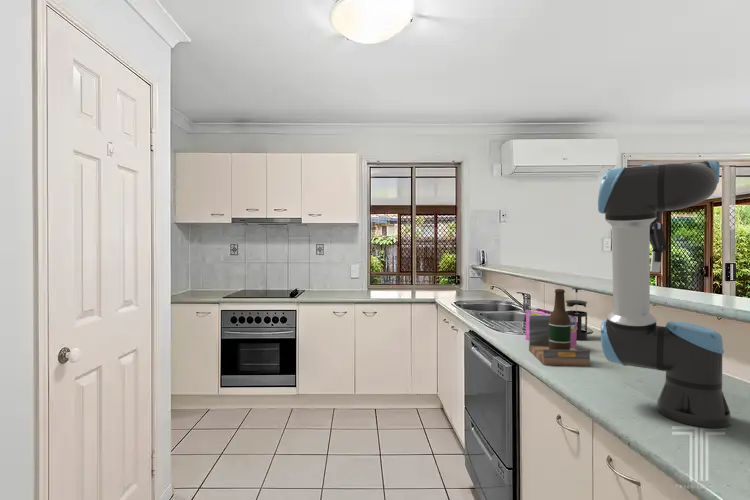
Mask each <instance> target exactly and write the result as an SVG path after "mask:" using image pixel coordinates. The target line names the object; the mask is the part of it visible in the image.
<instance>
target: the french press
mask: <svg viewBox="0 0 750 500" xmlns="http://www.w3.org/2000/svg"><path fill="white" fill-rule="evenodd" d="M571 290H574V291H575V299H570V300H569V299H568V300H565V302H566V307H569V308H571V307H574V306H575V310H573V309H572V310H565V311H566V313H567V314H568V315H570V316H574V317H577V336H576V342H577V341H581V342H582V341H587V340H588V311H583V310H578V309H577V308H578V306H582V307H584V308H587V304H588V301H585V300H580V299H579V300H578V294H579V293H578V290H579V291H581V290H582V288H580V287H572V288H571ZM582 317H583V318H584V320H585V322H584V323H582ZM582 328H584V330H583V329H582Z"/></svg>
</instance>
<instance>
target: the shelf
mask: <svg viewBox="0 0 750 500" xmlns="http://www.w3.org/2000/svg"><path fill="white" fill-rule="evenodd" d="M549 317H550V315H529V340H528V351H529V353H531V354H532V355H533V356H534V357H535V358H536V359H537V360H538V362H540V363H541V364H542V365H543V366H572V367H573V366H575V367H578V366H579V367H590V366H591V365H590V363H591V362H590V361H591V350H589V349H587V350H586V349H585V350H583V349H577V348H576V349H575V348H573V347H572V346H571V316H569V319H570V350H550V349H549Z"/></svg>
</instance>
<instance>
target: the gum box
mask: <svg viewBox="0 0 750 500" xmlns="http://www.w3.org/2000/svg"><path fill="white" fill-rule="evenodd" d="M552 312H553V310H547V309H543V308H536V309H535V310H531V309H530V310H529V309H526V314H525V317H526V318H525V319H526V320H525V339H526V340H528V341H529V315H551V313H552ZM568 316H570V315H568ZM576 336H577V317H574V316H571V346H572V347H573V348H575V349H576V350H577V340H576Z"/></svg>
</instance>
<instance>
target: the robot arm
mask: <svg viewBox="0 0 750 500" xmlns="http://www.w3.org/2000/svg"><path fill="white" fill-rule="evenodd" d="M719 182H720V161H718V160H703V161H693V162H684V163H663V164H653V163H646V164H643V165H640V166H630V167H628V166H627V167H626V166H625V167H620V168H614V169H609V170H607V171H606V172H605V173H604V174H603V176H602V178H601V181H600V185H599V189H598V195H597V196H598V198H597V205H598V206H597V208H598V209H597V211H598V213H600V214H602V215H603V214H604V218H605V221H606V222H607V223H608V224H609V225H610V226H611V244H612V245H611V246H612V247H611V249H612V250H611V251H612V252H611V253H612V255H611V257H612V263H611V264H612V265H611V266H612V308H613V309H612V311H611V312H609V313H608V314H607V315H606V319H604V320H602V322H601V325H600V344H601V349H602V353H603V355H604V357H605V359H606V360H607V361H609V362H610V363H614V364H617V365H622V366H628V367H635V368H642V369H647V370H648V369H649V370H656V371H662V372H665V381H664V385H663V387H662V389H661V392H660V394H659V396H658V399H657V406H656V407H657V411H658V412H659V413H660V414H661V415H662V416H664V417H666V418H668V419H670V420H673V421H676V422H678V423H681V424H686V425H689V426H694V427H695V426H696V427H701V428H708V429H709V428H710V429H721V428H727V427H729V426H730V425H731V423H732V422H731V421H732V419H731V418H732V417H731V411H730V408H729V406H728V403H727V401H726V397H725V395H724V392H723V355H724V353H725V350H724V344H723V336H722V335H721V334H720V333H719V332H718V331H716V330H714V329H712V328H709V327H706V326H703V325H699V324H694V323H689V322H683V321H672V320H671V321H668V322H667V323H666V324H665V326H663V325H662V326H661V325H657V318H656V317H655V316H654V315H653V314H652V313H651V311H650V309H651V307H650V306H651V305H650V304H651V301H650V300H651V299H650V298H651V297H650V296H651V295H650V294H651V293H650V292H651V291H650V290H651V288H650V287H651V285H650V283H651V282H650V281H651V280H650V279H651V277H650V276H651V275H650V274H651V273H650V272H653V273H661V265H662V263H661V262H662V255H663V253H664V252H666V251H667V250H668V247H667V243H666V238H665V233H664V224H663V223H662V222H661V221H662V216H663V215H662V212H669V211H677V210H682V209H686V208H689V207H692V206H694V205H695V206H696V205H698V204H700V203H702V202H704V201H705V200H707V199H709V198H710V197H711V196H712V195H713V194H715V191H716V189H717V187H718V184H719ZM660 222H661V223H660ZM650 245H651V247H652V249H650V248H651V247H650ZM650 251H651V254H650ZM650 255H651V257H650Z"/></svg>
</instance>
